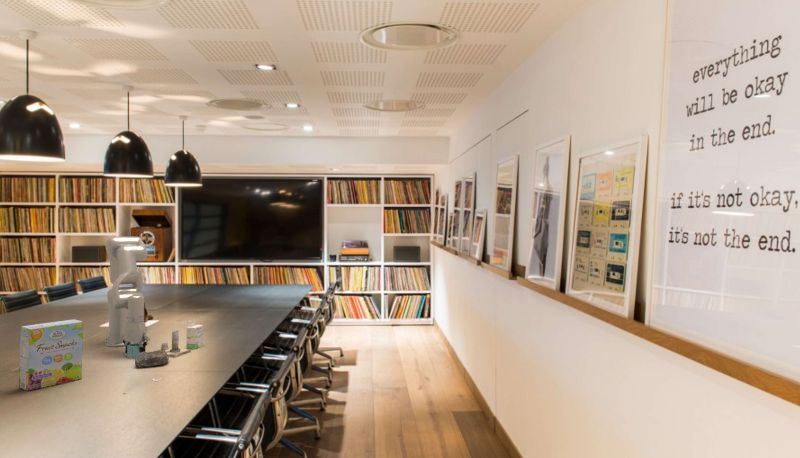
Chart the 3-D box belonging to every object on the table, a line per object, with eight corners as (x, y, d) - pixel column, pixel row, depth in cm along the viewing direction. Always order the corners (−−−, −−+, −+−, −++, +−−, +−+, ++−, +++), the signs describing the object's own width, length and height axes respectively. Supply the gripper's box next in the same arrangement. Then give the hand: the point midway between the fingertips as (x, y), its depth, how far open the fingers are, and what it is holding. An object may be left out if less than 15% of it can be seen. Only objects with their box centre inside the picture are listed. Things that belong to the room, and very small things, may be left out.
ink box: (194, 349, 289) (194, 322, 288) (186, 348, 290) (186, 321, 289) (203, 345, 297) (203, 319, 297) (195, 345, 298) (195, 318, 298)
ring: (123, 357, 270) (123, 345, 270) (134, 354, 277) (134, 342, 277) (136, 358, 268) (136, 347, 268) (146, 355, 275) (146, 343, 275)
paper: (127, 377, 239) (127, 375, 239) (169, 373, 246) (169, 371, 246) (122, 395, 216) (122, 392, 216) (169, 390, 223) (169, 387, 223)
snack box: (28, 392, 216) (28, 328, 215) (18, 388, 220) (18, 326, 220) (83, 379, 234) (84, 320, 234) (73, 375, 239) (73, 318, 238)
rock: (134, 370, 250) (169, 367, 257) (134, 356, 250) (169, 354, 256) (135, 362, 262) (168, 360, 268) (135, 349, 262) (169, 347, 268)
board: (149, 354, 276) (149, 331, 276) (164, 349, 288) (165, 327, 288) (175, 357, 272) (175, 333, 272) (190, 351, 284) (190, 329, 283)
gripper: (115, 319, 271) (115, 354, 271) (144, 322, 266) (144, 357, 267) (126, 317, 278) (126, 350, 278) (155, 319, 273) (155, 353, 274)
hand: (135, 353), depth 272 cm, fingers open, 8 cm apart
